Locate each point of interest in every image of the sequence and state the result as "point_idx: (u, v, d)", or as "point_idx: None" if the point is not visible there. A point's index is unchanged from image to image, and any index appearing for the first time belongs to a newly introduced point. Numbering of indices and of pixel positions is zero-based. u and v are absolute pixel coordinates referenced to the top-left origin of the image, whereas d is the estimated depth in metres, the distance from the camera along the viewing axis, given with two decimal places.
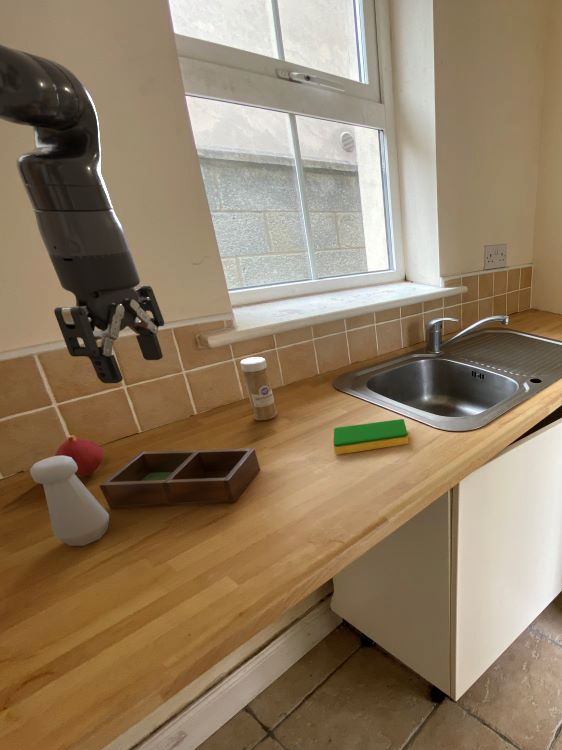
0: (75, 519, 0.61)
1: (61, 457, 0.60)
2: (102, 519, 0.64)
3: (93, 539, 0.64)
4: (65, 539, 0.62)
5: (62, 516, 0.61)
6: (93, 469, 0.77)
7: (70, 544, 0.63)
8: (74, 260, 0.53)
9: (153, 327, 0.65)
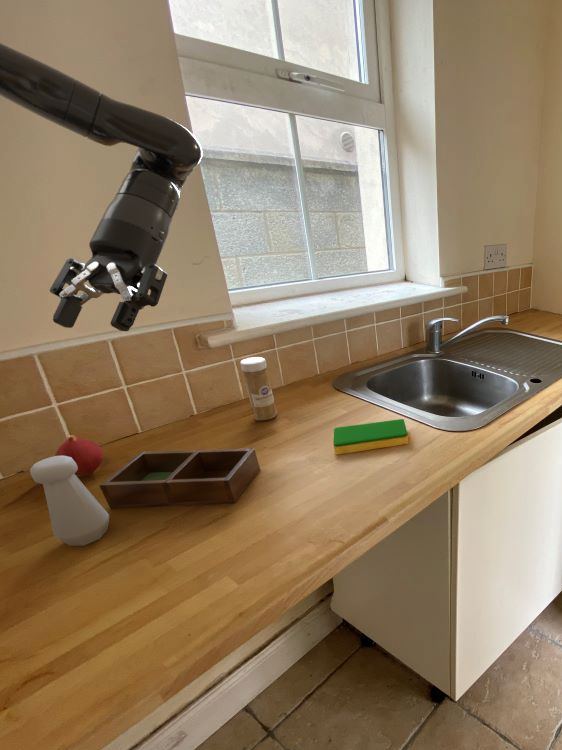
0: (75, 519, 0.61)
1: (61, 457, 0.60)
2: (102, 519, 0.64)
3: (93, 539, 0.64)
4: (65, 539, 0.62)
5: (62, 516, 0.61)
6: (93, 469, 0.77)
7: (70, 544, 0.63)
8: (157, 242, 0.69)
9: None
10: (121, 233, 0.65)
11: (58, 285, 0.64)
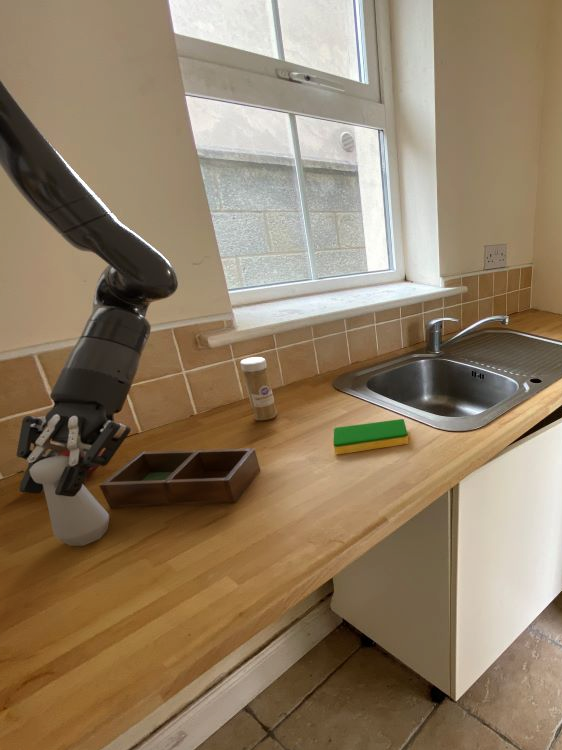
0: (75, 519, 0.61)
1: (61, 457, 0.60)
2: (102, 519, 0.64)
3: (93, 539, 0.64)
4: (65, 539, 0.62)
5: (62, 516, 0.61)
6: (93, 469, 0.77)
7: (70, 544, 0.63)
8: (124, 384, 0.65)
9: None
10: (84, 384, 0.61)
11: (24, 447, 0.60)
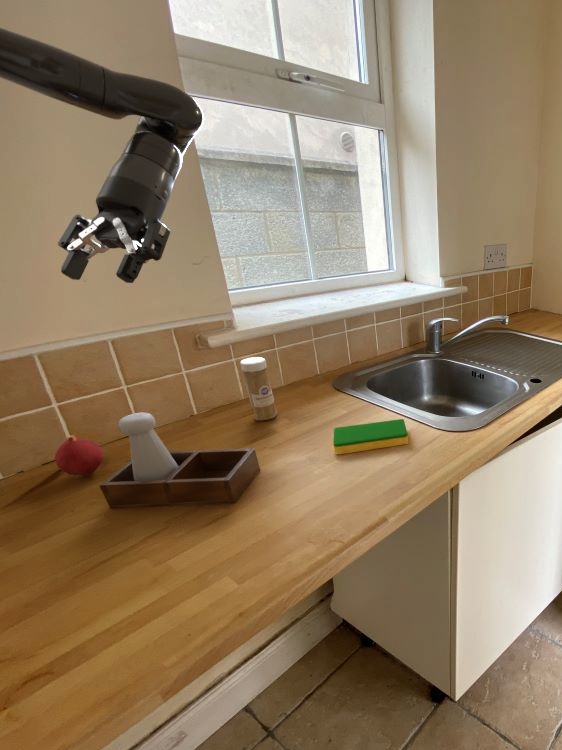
0: (154, 467, 0.71)
1: (143, 413, 0.70)
2: (174, 469, 0.74)
3: None
4: None
5: (144, 464, 0.71)
6: (93, 469, 0.77)
7: None
8: (160, 200, 0.72)
9: None
10: (126, 190, 0.68)
11: (66, 239, 0.67)
